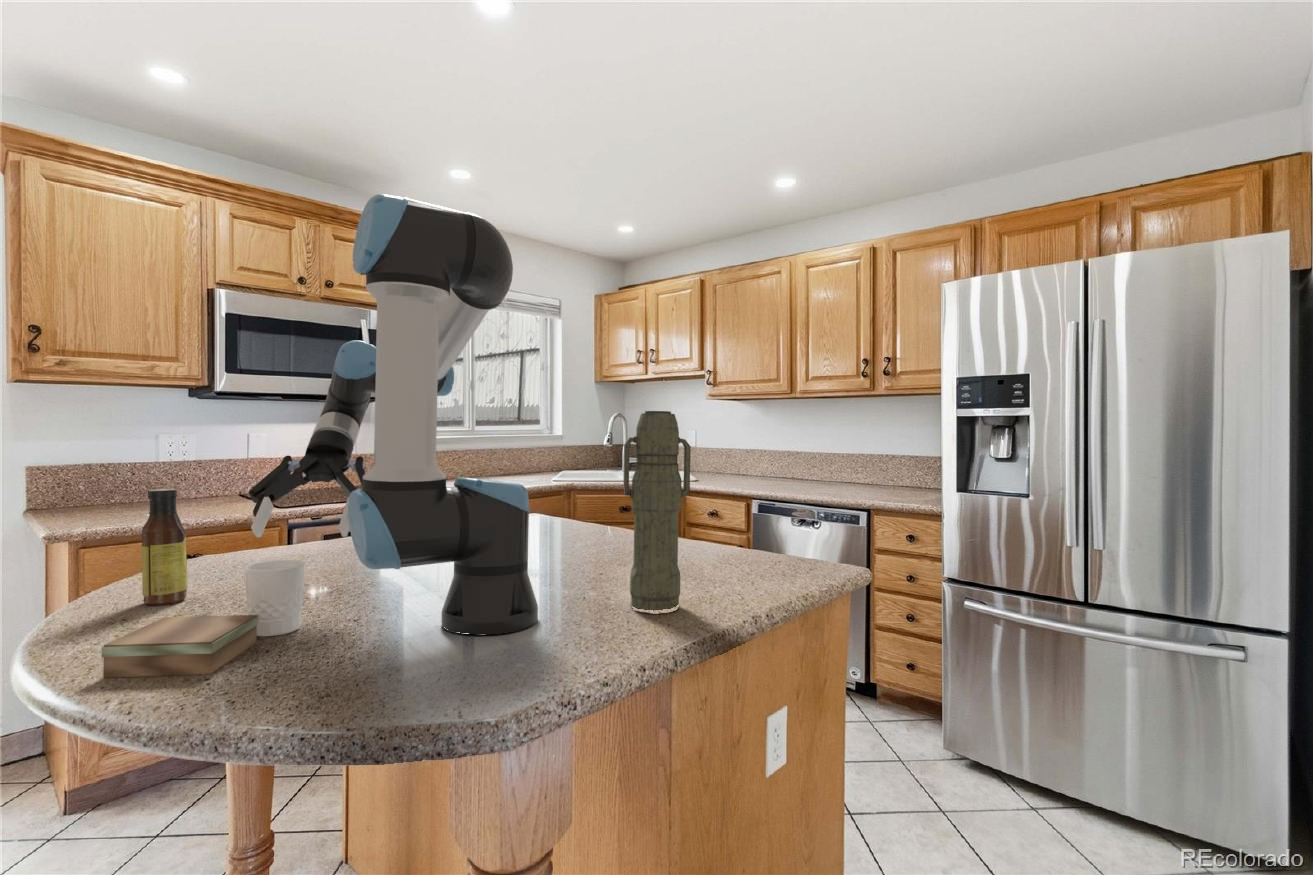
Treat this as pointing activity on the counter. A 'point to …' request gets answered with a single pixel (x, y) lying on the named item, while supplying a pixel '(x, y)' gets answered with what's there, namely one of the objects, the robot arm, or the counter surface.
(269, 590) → the white cup
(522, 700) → the counter surface
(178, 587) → the sauce bottle
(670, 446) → the thermos
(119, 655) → the walnut block
